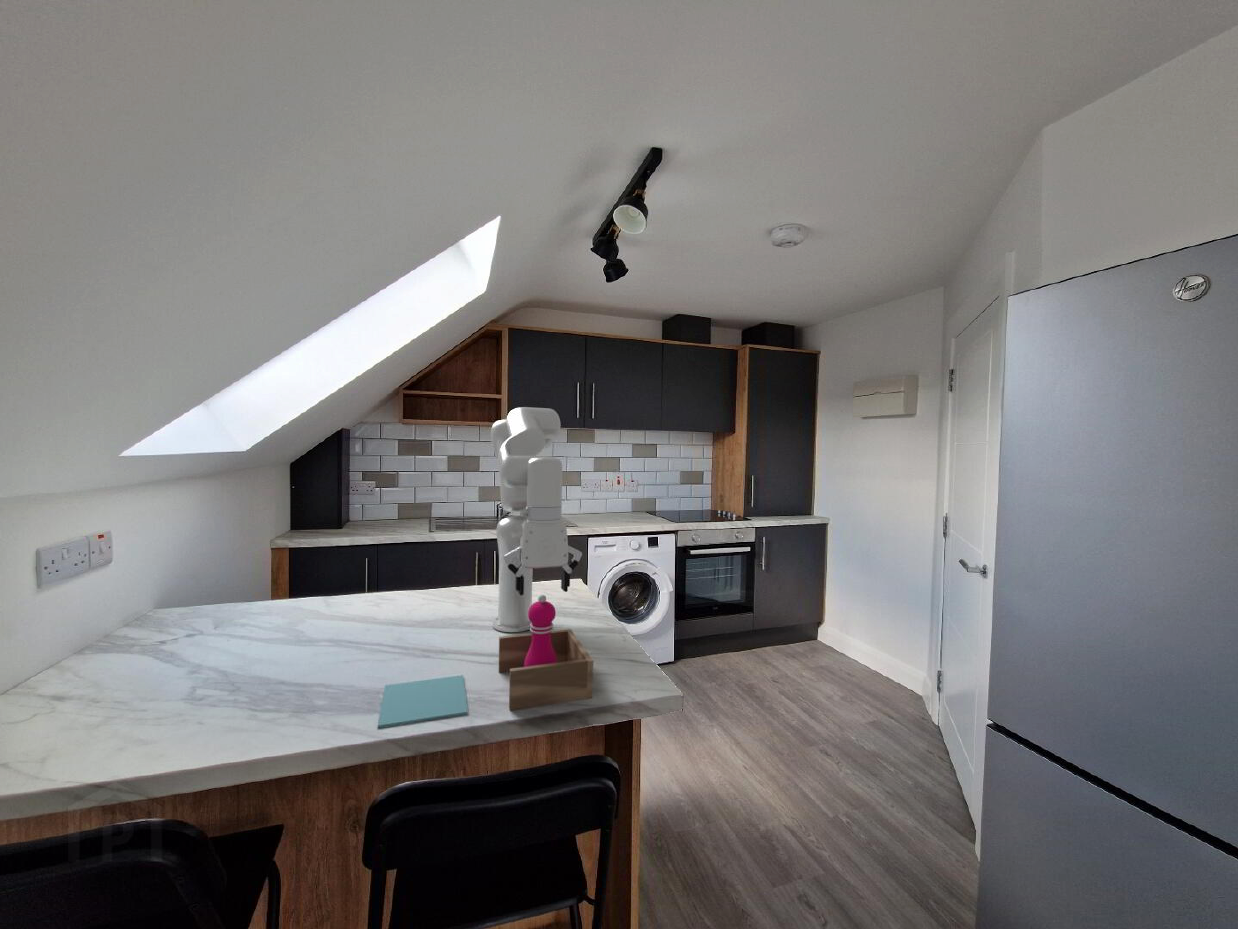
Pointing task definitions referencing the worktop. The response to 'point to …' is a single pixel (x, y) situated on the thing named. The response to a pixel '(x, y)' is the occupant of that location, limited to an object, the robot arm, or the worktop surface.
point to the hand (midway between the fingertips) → (542, 592)
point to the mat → (422, 701)
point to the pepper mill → (541, 633)
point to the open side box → (546, 671)
